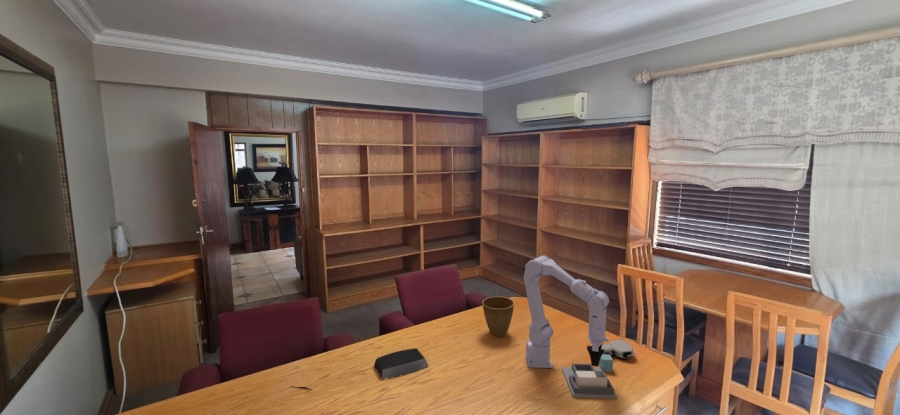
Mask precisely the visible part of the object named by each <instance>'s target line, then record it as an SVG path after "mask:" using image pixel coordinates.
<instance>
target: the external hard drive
mask: <svg viewBox="0 0 900 415" xmlns="http://www.w3.org/2000/svg"><path fill="white" fill-rule="evenodd" d="M373 365H375V366H374V368H375V367H376V368H375V370H376V371H377V370H378V371H377V373H378V372H379V373H378V375H379V374H380V375H379V376H381V377H380V379H381V378H382V379H385V378H390V379H392V378H391V377H394V378H397V377H396V376H398V377H401V376H400V375H402V376H404V375H405V376H406V375H408V374H409V375H410V374H413V373H416V372H419V371H422V370H424V369H427V368H429V364H428V362H427V359H426V358H425V357H424V356H423V354H422V353H421V352H420V350H419V349H418V347H415V348H407V349H403V350H398V351H394V352H390V353H387V354H385V355H381V356H379V357H377V358H376V359H375V361H374V364H373ZM382 379H381V380H382ZM385 380H386V379H385Z"/></svg>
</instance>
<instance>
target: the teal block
mask: <svg viewBox="0 0 900 415" xmlns="http://www.w3.org/2000/svg"><path fill="white" fill-rule="evenodd" d="M598 368H601V370H602V371H603V372H604V373H605V372H606V373H608V372H609V373H613V370H614V359H613V358H612V356H610V355H607V354H602V356H601V358H600V362H599V365H598Z"/></svg>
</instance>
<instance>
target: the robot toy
mask: <svg viewBox="0 0 900 415" xmlns="http://www.w3.org/2000/svg"><path fill="white" fill-rule="evenodd" d="M601 349H604V353H603V354H607V355H610V356H611V357H612V356H614V355H615V356H616V357H618V358H622V359H628V358H632V357H634V355H637V354H638V352H635V351H634V348H633V346H632V345H631V344H629V343H628V341H627V342H626V340H624V339H623V338H619V339H615V340H611V341H609V343H603V345H602V348H601ZM634 352H635V353H634Z"/></svg>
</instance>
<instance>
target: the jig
mask: <svg viewBox="0 0 900 415" xmlns="http://www.w3.org/2000/svg"><path fill="white" fill-rule="evenodd" d="M576 371H602V370H601V368H600V367H594V366H592V364H591V363H574V362H573V363H571V367H569V366H567V367H566V366H565V367H564V366H561V372H562V374H563V376H564V379H565V381H566V384H567V387H568V388H569V391H570V394H571V396H572V398H583V399H584V398H589V399H613V400H614V399H618V396H617V394H616V392H615V389H614V388H615V387H613V385H612V383H611V382H610V379H609V378H608V377H607V388H601V387H576V384H575V372H576Z"/></svg>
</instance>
